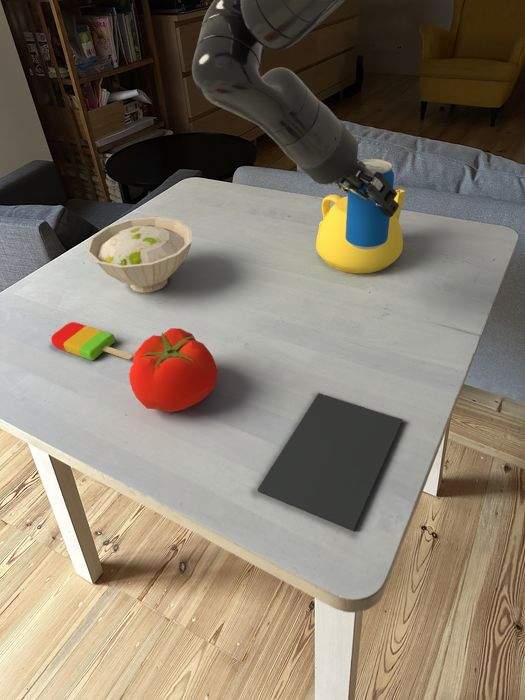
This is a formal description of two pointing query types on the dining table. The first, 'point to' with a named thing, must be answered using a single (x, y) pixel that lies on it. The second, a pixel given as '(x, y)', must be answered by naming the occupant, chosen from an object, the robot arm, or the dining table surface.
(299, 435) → the place mat
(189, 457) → the dining table surface
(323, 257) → the teapot
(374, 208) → the beverage can
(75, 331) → the popsicle
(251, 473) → the dining table surface
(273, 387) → the dining table surface
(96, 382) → the dining table surface
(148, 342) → the tomato
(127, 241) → the bowl
